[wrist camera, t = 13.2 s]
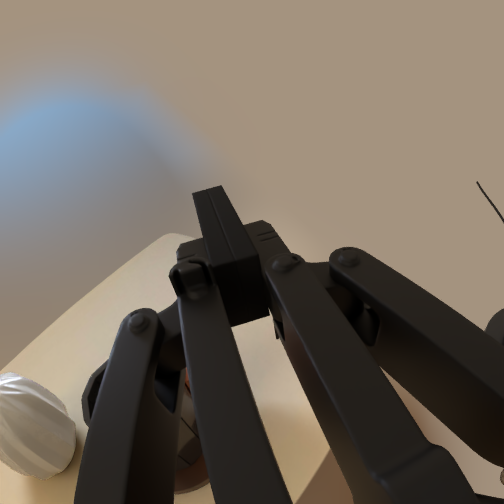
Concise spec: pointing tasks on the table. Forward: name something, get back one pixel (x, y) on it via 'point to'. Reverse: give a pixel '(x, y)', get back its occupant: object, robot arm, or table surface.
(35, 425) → the vase
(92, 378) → the mug
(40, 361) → the table surface
